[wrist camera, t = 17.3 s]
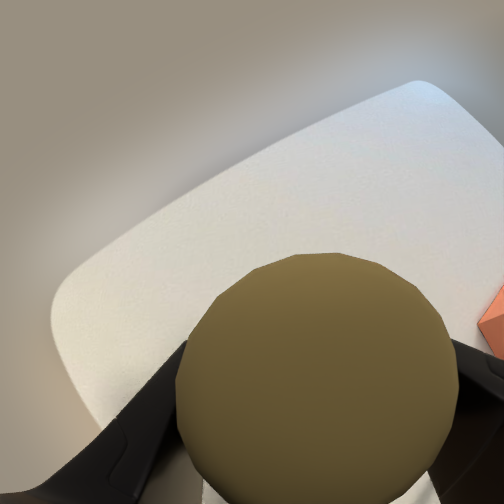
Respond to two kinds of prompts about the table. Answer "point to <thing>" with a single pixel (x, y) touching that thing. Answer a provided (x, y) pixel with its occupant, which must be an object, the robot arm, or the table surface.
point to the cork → (317, 385)
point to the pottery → (494, 325)
